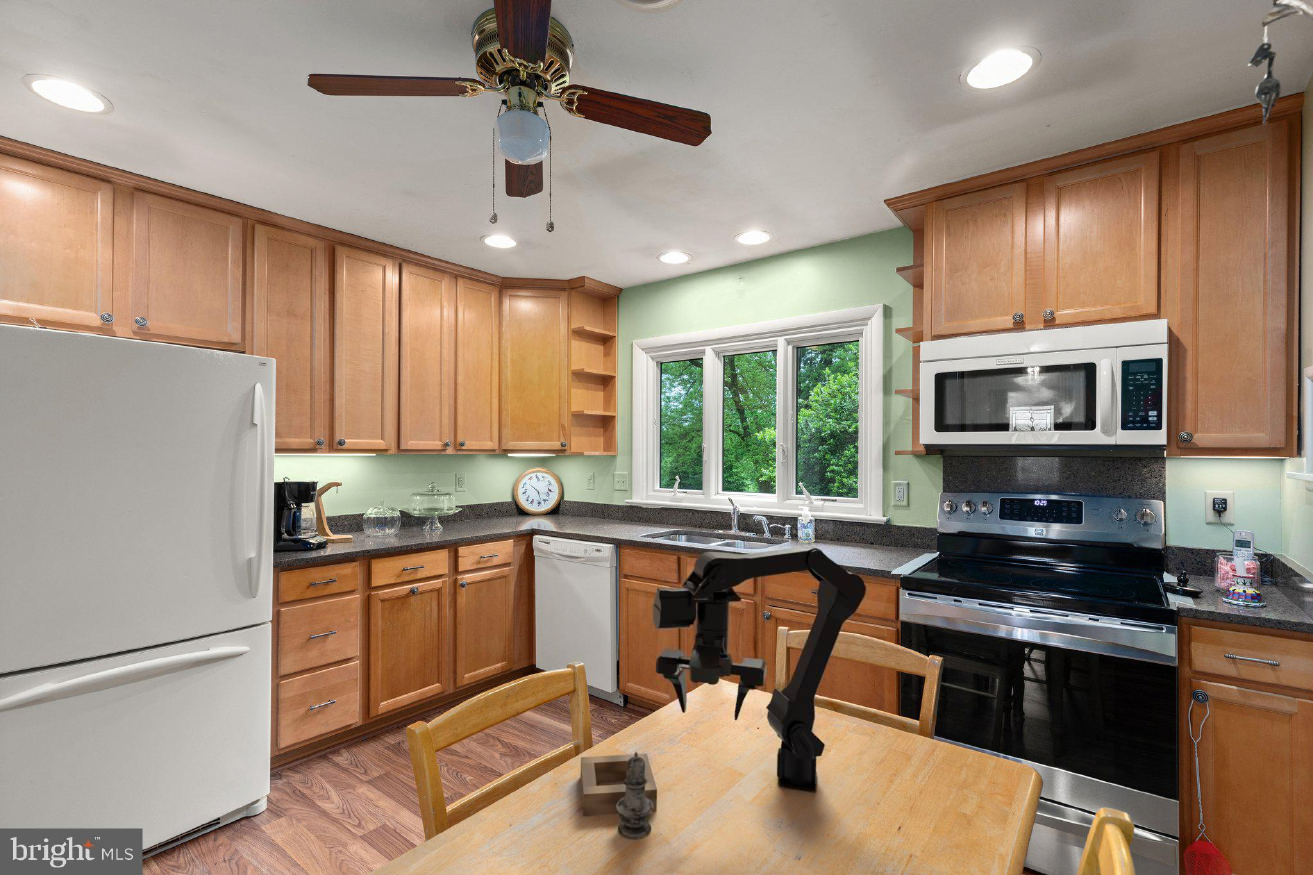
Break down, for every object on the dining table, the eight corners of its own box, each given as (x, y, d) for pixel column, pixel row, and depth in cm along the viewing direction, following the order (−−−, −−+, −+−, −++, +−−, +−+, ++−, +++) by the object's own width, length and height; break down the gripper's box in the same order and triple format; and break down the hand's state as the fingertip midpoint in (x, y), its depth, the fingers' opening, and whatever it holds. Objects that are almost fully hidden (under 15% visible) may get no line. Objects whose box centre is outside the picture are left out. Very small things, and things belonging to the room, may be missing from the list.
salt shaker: (658, 836, 97) (659, 758, 97) (621, 843, 95) (622, 763, 95) (647, 815, 102) (648, 740, 102) (611, 820, 100) (613, 745, 101)
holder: (646, 772, 115) (646, 753, 115) (656, 810, 103) (657, 789, 104) (580, 776, 113) (580, 757, 113) (583, 815, 102) (583, 794, 102)
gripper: (648, 633, 105) (645, 727, 105) (761, 646, 100) (759, 744, 100) (664, 616, 115) (662, 701, 115) (767, 626, 111) (765, 715, 111)
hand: (709, 715), depth 110 cm, fingers open, 9 cm apart
